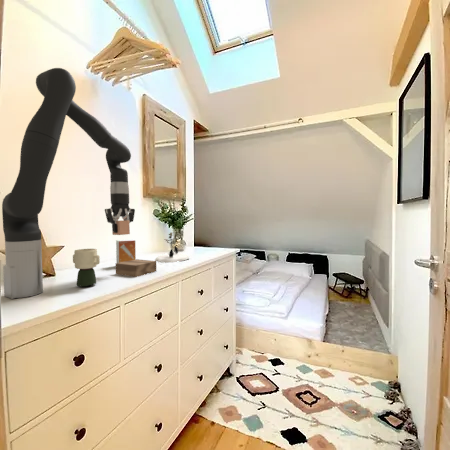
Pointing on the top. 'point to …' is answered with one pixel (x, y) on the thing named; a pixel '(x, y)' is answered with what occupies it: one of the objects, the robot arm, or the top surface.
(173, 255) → the figurine
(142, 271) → the walnut block
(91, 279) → the character mug
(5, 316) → the top surface
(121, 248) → the small box
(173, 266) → the top surface
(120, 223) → the terracotta block
